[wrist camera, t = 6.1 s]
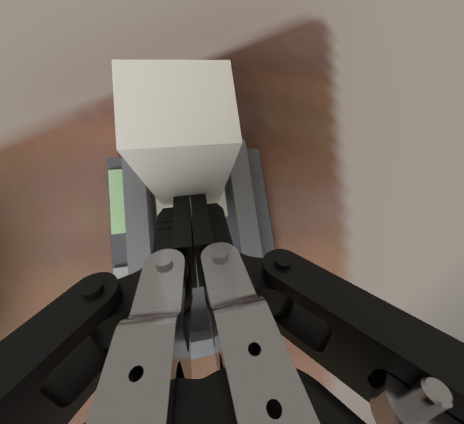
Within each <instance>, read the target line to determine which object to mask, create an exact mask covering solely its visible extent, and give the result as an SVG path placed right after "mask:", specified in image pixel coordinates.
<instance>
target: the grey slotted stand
mask: <svg viewBox="0 0 464 424" xmlns="http://www.w3.org/2000/svg"><path fill="white" fill-rule="evenodd" d="M107 165H108V186H109V207H110V228H111V249H112V269H113V275H115V276H116V277H117V279H119V278H122V277H124V276H127V275H130V274H132V273H134V272H137V271H138V270H140V269H141V268H143V265H144V262H145V260H146V259H147V258H148V257H149V256H150V255H151V254H152V251H153V244H154V237H155V230H156V224H157V209H156V197H155V196H154V195H153V193H152V192H151V191H150V190H149V189H148V187H147V186H146V185H145V184H144V183H143V181H142V180H141V179H140V178H139V177H138V175H137V174H136V173H135V172H134V170H133V169H132V168H131V167H130V166H129V164H128V163H127V162H126V161H125V160H124V158H123V157H122V156H121V157H111V158H107ZM224 189H225V197H226V204H227V212H228V216H227V217H226V220H227V224H228V227H229V231H230V234H231V238H232V242H233V245H234V247H236V248H237V250H238V251H239V252H241V253H242V254H244V255H247V256H252V257H259V258H264V256H265V254H266V253H268V252H269V251H271V250H275V248H274V241H273V235H272V229H271V222H270V216H269V210H268V204H267V197H266V191H265V185H264V178H263V172H262V166H261V159H260V153H259V148H256V149H247V148H246V142H245V139H242V145H241V148H240V150H239V153H238V155H237V158H236V160H235V163H234V166H233V168H232V171H231V173H230V176H229V178H228V181H227V183H226V186H225V188H224ZM195 260H196V258H195ZM196 273H197V266H196ZM197 286H198V288H192V293H193V301H192V334H191V360H192V359H197V358H201V357H206V356H211V355H215V351H214V346H213V340H212V335H211V330H210V325H209V319H208V314H207V309H206V302H205V293H204V287H199V282H198V274H197Z"/></svg>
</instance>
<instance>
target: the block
mask: <svg viewBox="0 0 464 424" xmlns="http://www.w3.org/2000/svg"><path fill="white" fill-rule="evenodd" d="M112 76H113V94H114V112H115V130H116V148H117V151H118V152H119V154H120V155H121V156H122V157H123V158H124V160H125V161H126V162H127V163H128V164H129V166H130V167H131V168H132V169H133V170H134V172H135V173H136V174H137V175H138V177H139V178H140V179H141V180H142V181H143V183H144V184H145V185H146V186H147V187H148V189H149V190H150V191H151V192H152V193H153V195H154V196H155V197H156V209H157V216H158V214H159V213H160V212H161V210H162V209H163V208H170V207H173V198H174V197H177V196H188V195H189V198H190V195H199V194H205V195H206V200H207V204H211V203H218V204H219V205H220V206H221V207H222V208H223V210H224V213H225V217H227V216H228V212H227V204H226V197H225V189H224V188H225V186H226V183H227V181H228V178H229V176H230V173H231V171H232V168H233V166H234V163H235V160H236V158H237V155H238V153H239V150H240V148H241V145H242V136H241V130H240V123H239V116H238V109H237V103H236V96H235V89H234V82H233V75H232V69H231V62H230V60H112ZM190 207H191V198H190ZM191 215H192V212H191Z"/></svg>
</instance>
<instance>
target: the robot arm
mask: <svg viewBox="0 0 464 424" xmlns="http://www.w3.org/2000/svg"><path fill="white" fill-rule="evenodd" d="M190 198H191V207H190ZM190 198H189V195H188V196H177V197H174V198H173V207H170V208H163V209H162V210H161V212H160V213H159V214H158V216H157V224H156V230H155V237H154V244H153V251H152V254H151V255H150V256H149V257H148V258H147V259H146V260H145V262H144V265H143V268H141V269H140V270H138V271H137V272H134V273H132V274H130V275H127V276H124V277H122V278H119V279H117V277H116V276H115V275H113V274H112V273H108V272H99V273H95V274H92V275H89V276H87V277H85V278H83V279H82V280H80V281H79V282H78V283H76V284H75V285H74V286H72V287H71V288H70V289H68V290H67V291H66V292H64V293H63V294H62V295H61V296H59V297H58V298H57V299H55V300H54V301H53V302H51V303H50V304H49V305H47V306H46V307H45V308H43V309H42V310H41V311H40V312H38V313H37V314H36V315H34V316H33V317H32V318H30V319H29V320H28V321H26V322H25V323H24V324H23V325H21V326H20V327H19V328H17V329H16V330H15V331H13V332H12V333H11V334H9V335H8V336H7V337H6V338H4V339H3V340H2V341H0V424H68V423H69V421H70V420H71V419H72V418H73V417H74V415H75V414H76V413H77V412H78V411H79V409H80V408H81V407H82V406H83V405H84V403H85V402H86V401H87V400H88V399H89V397H90V396H91V395H92V394H93V393H94V391H95V390H96V392H95V395H94V398H93V402H92V405H91V408H90V411H89V414H88V417H87V421H86V422H85V423H84V424H366V423H365V422H364V421H363V420H361V419H360V418H359V417H358V416H357V415H356V414H355V413H353V412H352V411H351V410H350V409H349V408H348V407H347V406H345V405H344V404H343V403H342V402H341V401H340V400H339V399H337V398H336V397H335V396H334V395H333V394H332V393H331V392H329V391H328V390H327V389H326V388H325V387H324V386H323V385H321V384H320V383H319V382H318V381H317V380H315V379H314V378H312V377H311V376H309V375H308V374H306V373H305V372H303V371H301V370H299V369H297V368H295V365H294V363H293V361H292V359H291V356H290V354H289V352H288V349H287V347H286V345H285V343H284V340H283V338H282V336H281V335H283V336H284V337H285V338H286V339H288V340H289V341H290V342H292V343H293V344H294V345H296V346H297V347H298V348H299V349H301V350H302V351H303V352H305V353H306V354H307V355H308V356H310V357H311V358H312V359H314V360H315V361H316V362H317V363H319V364H320V365H321V366H323V367H324V368H325V369H327V370H328V371H329V372H330V373H332V374H333V375H334V376H336V377H337V378H338V379H339V380H341V381H342V382H343V383H345V384H346V385H347V386H348V387H350V388H351V389H352V390H354V391H355V392H356V393H358V394H359V395H360V396H361V397H363V398H364V399H365V400H367V401H368V402H369V403H370V406H371V411H372V414H373V417H374V419H375V421H376V423H377V424H464V343H463V342H461V341H459V340H457V339H455V338H453V337H452V336H450V335H448V334H446V333H444V332H442V331H440V330H438V329H436V328H434V327H433V326H431V325H429V324H427V323H425V322H423V321H421V320H419V319H418V318H416V317H414V316H412V315H410V314H408V313H406V312H404V311H402V310H401V309H399V308H397V307H395V306H393V305H391V304H389V303H387V302H386V301H383V300H382V299H380V298H378V297H376V296H374V295H372V294H370V293H368V292H367V291H365V290H363V289H361V288H359V287H357V286H355V285H353V284H352V283H350V282H348V281H346V280H344V279H342V278H340V277H338V276H336V275H335V274H333V273H331V272H329V271H327V270H325V269H323V268H321V267H319V266H318V265H316V264H314V263H312V262H310V261H308V260H306V259H304V258H302V257H301V256H299V255H297V254H295V253H293V252H291V251H288V250H284V249H275V250H271V251H269V252H268V253H266V254H265V256H264V258H259V257H252V256H247V255H244V254H242V253H241V252H239V251H238V250H237V248H236V247H234V245H233V242H232V238H231V234H230V231H229V227H228V224H227V220H226V217H225V213H224V210H223V208H222V207H221V206H220V205H219V204H218V203H211V204H207V200H206V195H205V194H199V195H190ZM191 212H192V215H191ZM195 258H196V260H195ZM196 266H197V273H196ZM197 274H198V282H199V287H204V293H205V302H206V309H207V314H208V319H209V325H210V330H211V335H212V340H213V346H214V351H215V357H216V364H217V370H218V371H216V372H214V373H212V374H211V375H209V376H207V377H205V378H203V379H192V370H191V334H192V301H193V293H192V288H198V286H197Z"/></svg>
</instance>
